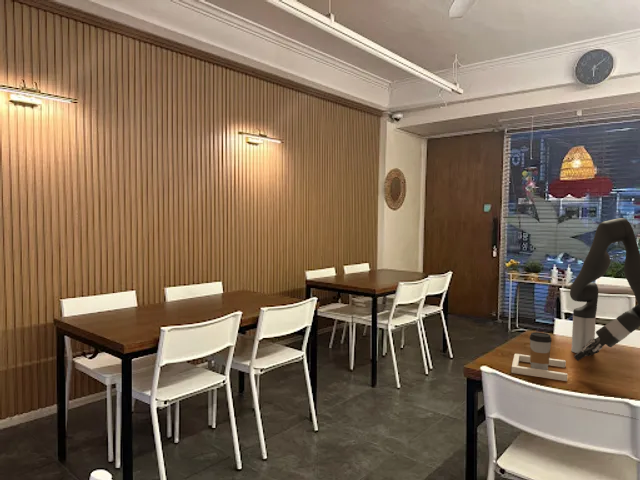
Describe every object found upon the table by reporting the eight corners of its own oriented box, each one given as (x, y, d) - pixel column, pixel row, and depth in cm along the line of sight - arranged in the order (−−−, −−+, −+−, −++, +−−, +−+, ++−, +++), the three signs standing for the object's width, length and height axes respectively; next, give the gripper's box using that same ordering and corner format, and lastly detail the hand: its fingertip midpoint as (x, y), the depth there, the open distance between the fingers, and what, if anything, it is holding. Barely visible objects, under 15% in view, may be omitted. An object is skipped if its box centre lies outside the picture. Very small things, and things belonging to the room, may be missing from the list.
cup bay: (514, 359, 205) (514, 353, 205) (565, 366, 196) (565, 360, 196) (511, 372, 187) (511, 366, 187) (567, 381, 178) (567, 374, 178)
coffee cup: (551, 374, 185) (553, 337, 185) (529, 372, 188) (530, 335, 187) (548, 368, 193) (550, 333, 192) (527, 366, 196) (528, 331, 195)
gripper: (603, 321, 186) (567, 347, 193) (607, 328, 175) (569, 355, 181) (618, 336, 184) (581, 361, 191) (623, 344, 173) (584, 371, 179)
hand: (575, 358), depth 186 cm, fingers closed
